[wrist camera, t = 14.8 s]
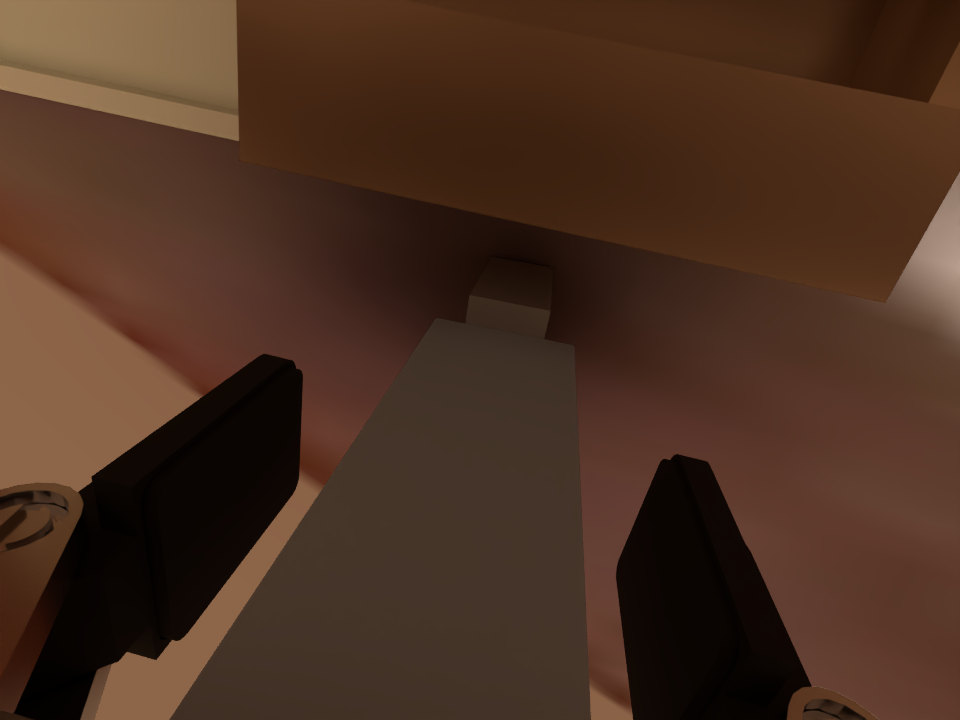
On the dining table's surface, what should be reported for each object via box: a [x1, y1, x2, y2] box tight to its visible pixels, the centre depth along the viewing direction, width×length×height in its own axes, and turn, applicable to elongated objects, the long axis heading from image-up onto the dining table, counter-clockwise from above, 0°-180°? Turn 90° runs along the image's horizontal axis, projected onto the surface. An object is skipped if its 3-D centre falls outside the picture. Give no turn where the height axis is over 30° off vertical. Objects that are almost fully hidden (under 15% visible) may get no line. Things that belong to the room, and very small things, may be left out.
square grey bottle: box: [170, 256, 591, 720], centre depth 10 cm, size 5×4×14 cm
